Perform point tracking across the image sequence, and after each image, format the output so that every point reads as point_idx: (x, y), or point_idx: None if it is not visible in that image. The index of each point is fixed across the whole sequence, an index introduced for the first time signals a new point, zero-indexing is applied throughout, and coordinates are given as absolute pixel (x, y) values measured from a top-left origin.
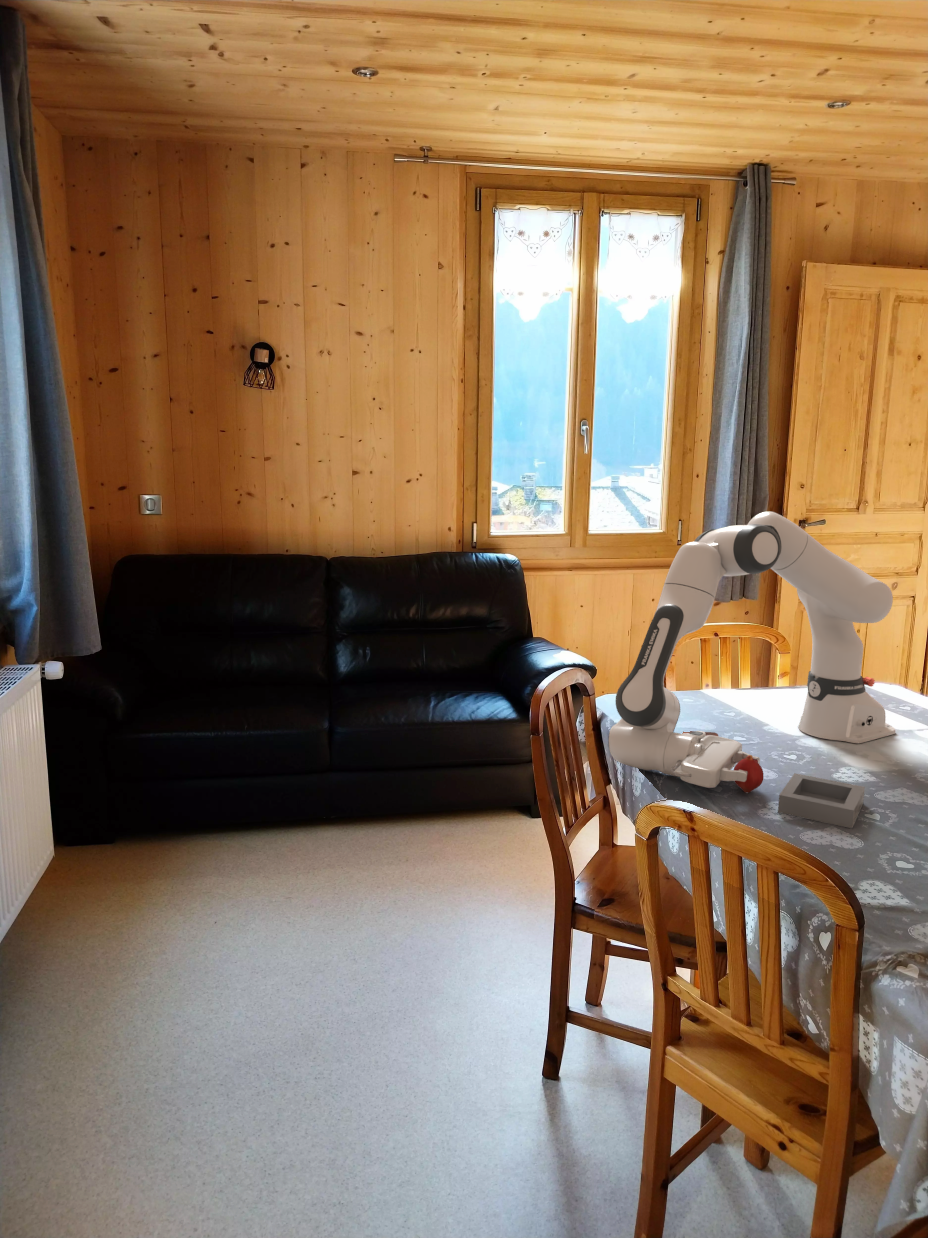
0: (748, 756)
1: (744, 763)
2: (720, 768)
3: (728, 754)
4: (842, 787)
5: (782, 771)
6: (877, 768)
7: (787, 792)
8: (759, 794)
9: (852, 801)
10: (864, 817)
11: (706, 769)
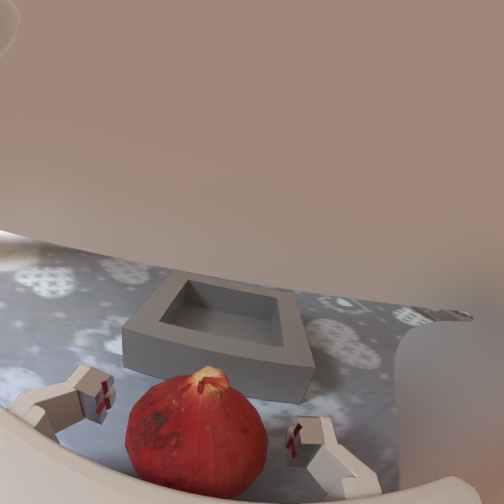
0: (227, 380)
1: (241, 419)
2: (393, 492)
3: (135, 491)
4: (183, 287)
5: (5, 351)
6: (30, 258)
7: (285, 354)
8: None
9: (255, 289)
10: None
11: (478, 498)
